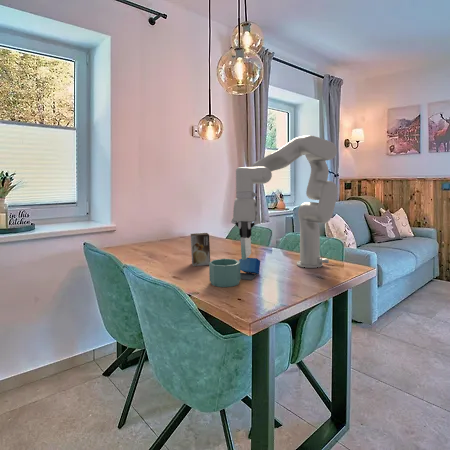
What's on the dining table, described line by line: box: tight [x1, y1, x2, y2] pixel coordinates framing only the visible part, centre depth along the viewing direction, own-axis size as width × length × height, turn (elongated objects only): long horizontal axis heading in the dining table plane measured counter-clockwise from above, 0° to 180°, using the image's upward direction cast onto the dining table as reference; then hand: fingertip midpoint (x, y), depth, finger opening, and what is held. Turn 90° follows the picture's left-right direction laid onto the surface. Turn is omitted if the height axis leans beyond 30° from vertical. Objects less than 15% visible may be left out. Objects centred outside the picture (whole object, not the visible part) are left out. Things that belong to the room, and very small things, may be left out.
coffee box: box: [190, 232, 211, 267], centre depth 180 cm, size 9×6×16 cm
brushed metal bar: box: [240, 221, 252, 260], centre depth 155 cm, size 2×9×18 cm, turn 160°
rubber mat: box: [240, 272, 258, 281], centre depth 157 cm, size 12×9×1 cm
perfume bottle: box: [238, 257, 261, 275], centre depth 161 cm, size 6×6×12 cm
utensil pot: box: [208, 258, 242, 288], centre depth 148 cm, size 12×12×9 cm
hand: (245, 237), depth 154 cm, fingers closed on brushed metal bar, 2 cm apart
